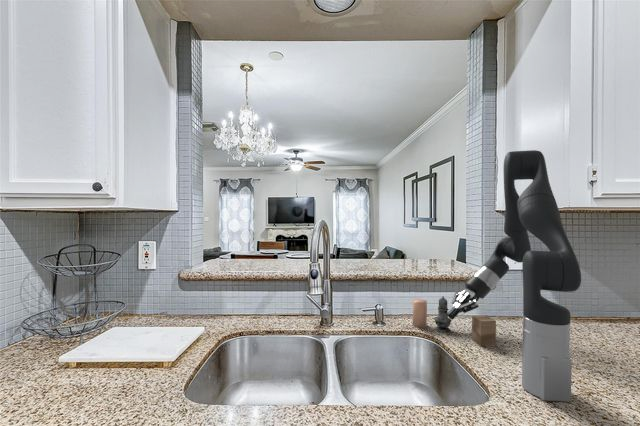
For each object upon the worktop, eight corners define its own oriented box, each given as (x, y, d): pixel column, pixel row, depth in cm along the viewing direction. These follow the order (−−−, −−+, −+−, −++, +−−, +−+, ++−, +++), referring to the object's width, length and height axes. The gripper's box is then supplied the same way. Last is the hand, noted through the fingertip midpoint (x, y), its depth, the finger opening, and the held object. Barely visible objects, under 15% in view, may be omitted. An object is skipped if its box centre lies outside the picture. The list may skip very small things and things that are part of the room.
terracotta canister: (428, 327, 117) (428, 303, 117) (414, 327, 118) (414, 302, 118) (424, 323, 122) (425, 299, 122) (411, 322, 123) (411, 298, 123)
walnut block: (495, 345, 103) (496, 320, 102) (480, 346, 102) (481, 321, 102) (486, 339, 108) (486, 315, 107) (471, 339, 107) (472, 315, 107)
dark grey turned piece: (448, 333, 112) (449, 299, 112) (431, 330, 115) (432, 296, 115) (453, 328, 117) (454, 295, 116) (436, 325, 120) (437, 292, 120)
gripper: (465, 271, 123) (433, 304, 122) (486, 279, 110) (451, 316, 109) (478, 284, 124) (447, 317, 123) (501, 294, 111) (466, 331, 110)
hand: (449, 317), depth 116 cm, fingers closed
